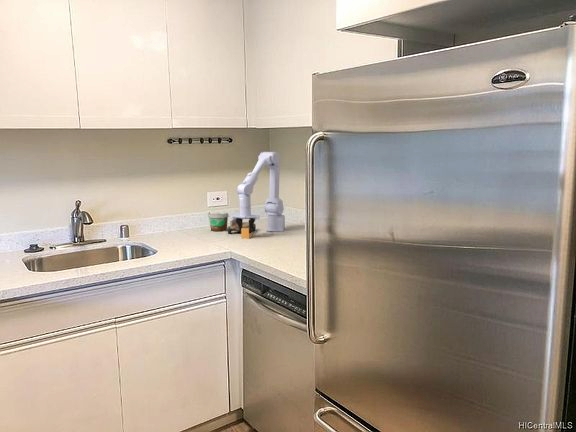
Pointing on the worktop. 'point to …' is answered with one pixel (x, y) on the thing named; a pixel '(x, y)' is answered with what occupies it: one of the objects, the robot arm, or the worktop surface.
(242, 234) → the block
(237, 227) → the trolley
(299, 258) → the worktop surface
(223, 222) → the food container
